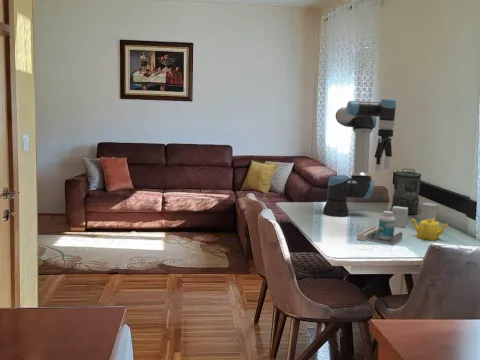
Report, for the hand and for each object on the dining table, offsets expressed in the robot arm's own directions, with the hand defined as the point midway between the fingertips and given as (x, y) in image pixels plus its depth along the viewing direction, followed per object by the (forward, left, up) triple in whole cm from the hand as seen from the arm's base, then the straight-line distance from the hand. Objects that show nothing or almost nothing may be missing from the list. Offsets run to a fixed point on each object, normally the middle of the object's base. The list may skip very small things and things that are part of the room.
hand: (382, 169), depth 281 cm
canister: (-4, +66, -33) cm, 74 cm away
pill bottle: (+10, -16, -32) cm, 37 cm away
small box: (+5, +23, -33) cm, 41 cm away
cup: (+17, +39, -33) cm, 54 cm away
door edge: (+1, -16, -33) cm, 36 cm away
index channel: (+10, -16, -33) cm, 38 cm away
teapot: (+25, +6, -33) cm, 42 cm away
